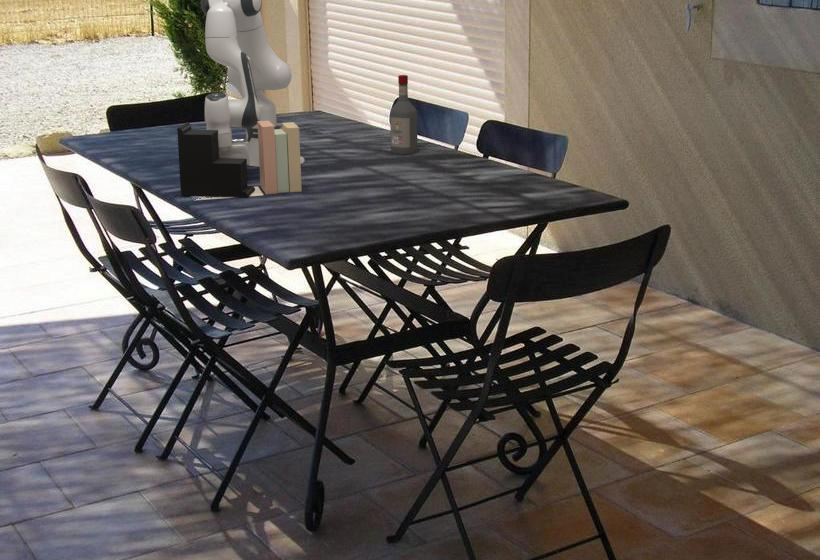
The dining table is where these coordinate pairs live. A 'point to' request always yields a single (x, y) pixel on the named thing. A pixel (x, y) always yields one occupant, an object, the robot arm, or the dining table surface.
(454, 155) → the dining table surface
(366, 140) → the dining table surface
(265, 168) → the book row
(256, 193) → the cream mat
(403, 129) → the liquor
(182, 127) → the black drawer cabinet
